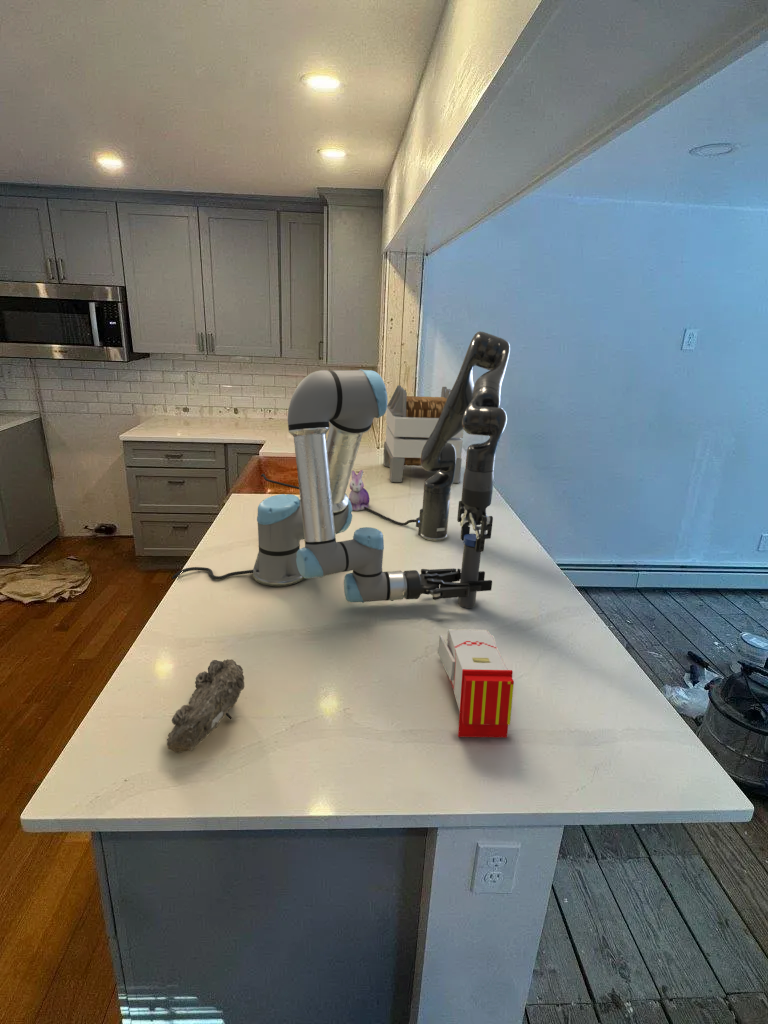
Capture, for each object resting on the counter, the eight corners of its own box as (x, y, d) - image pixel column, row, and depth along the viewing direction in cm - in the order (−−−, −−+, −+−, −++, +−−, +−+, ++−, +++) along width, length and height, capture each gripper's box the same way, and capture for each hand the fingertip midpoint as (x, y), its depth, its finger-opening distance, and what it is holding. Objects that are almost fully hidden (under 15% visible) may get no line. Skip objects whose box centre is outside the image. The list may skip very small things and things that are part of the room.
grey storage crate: (382, 463, 289) (386, 382, 275) (445, 464, 293) (451, 384, 279) (390, 482, 257) (394, 392, 243) (460, 483, 261) (468, 394, 247)
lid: (474, 548, 145) (475, 542, 144) (459, 542, 148) (460, 536, 148) (486, 543, 148) (487, 537, 148) (471, 538, 152) (472, 532, 151)
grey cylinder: (454, 602, 154) (460, 538, 148) (465, 598, 157) (472, 534, 151) (467, 609, 151) (474, 544, 145) (478, 604, 154) (486, 540, 148)
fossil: (192, 660, 117) (244, 628, 112) (224, 691, 120) (276, 661, 115) (142, 746, 98) (202, 712, 93) (182, 779, 101) (242, 748, 96)
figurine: (353, 512, 218) (354, 475, 213) (342, 504, 226) (343, 468, 221) (375, 509, 222) (376, 473, 217) (363, 501, 230) (364, 466, 225)
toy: (488, 613, 130) (523, 677, 101) (484, 667, 133) (517, 744, 104) (435, 612, 130) (455, 676, 101) (432, 666, 133) (451, 743, 103)
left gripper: (395, 582, 158) (475, 578, 162) (410, 614, 142) (498, 609, 146) (397, 558, 155) (477, 554, 160) (412, 588, 139) (501, 583, 144)
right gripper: (505, 493, 138) (498, 555, 143) (477, 477, 150) (471, 534, 156) (478, 495, 135) (471, 558, 141) (451, 478, 148) (446, 536, 153)
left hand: (487, 580), depth 153 cm, fingers closed on grey cylinder, 5 cm apart
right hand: (471, 545), depth 148 cm, fingers open, 7 cm apart
